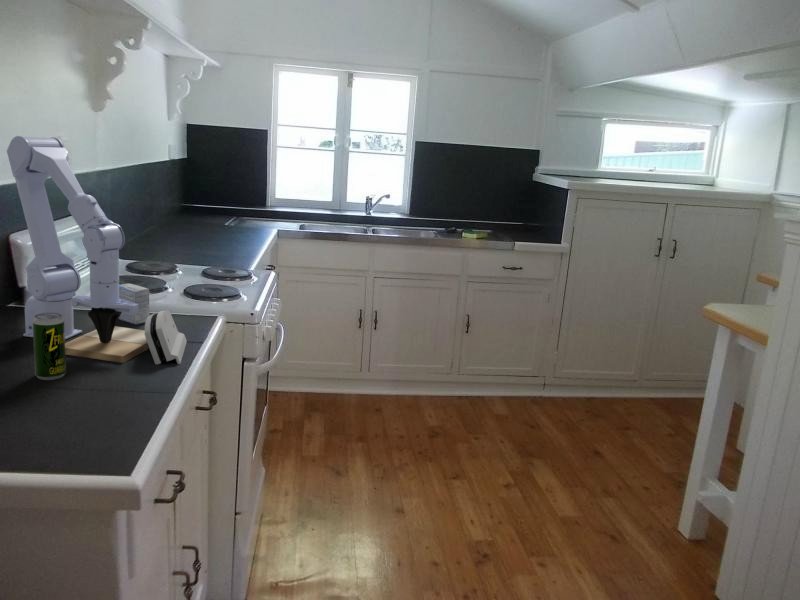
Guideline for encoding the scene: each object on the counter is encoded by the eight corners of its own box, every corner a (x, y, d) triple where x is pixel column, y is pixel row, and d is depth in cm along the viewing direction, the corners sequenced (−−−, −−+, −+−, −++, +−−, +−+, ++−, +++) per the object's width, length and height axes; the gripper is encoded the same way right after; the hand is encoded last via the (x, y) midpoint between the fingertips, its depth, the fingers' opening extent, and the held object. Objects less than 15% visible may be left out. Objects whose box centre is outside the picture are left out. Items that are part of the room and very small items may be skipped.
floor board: (82, 342, 152) (82, 335, 151) (106, 331, 160) (106, 325, 160) (144, 351, 149) (144, 344, 149) (165, 339, 158) (165, 333, 157)
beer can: (28, 377, 129) (25, 317, 127) (50, 369, 135) (48, 310, 132) (51, 382, 128) (48, 321, 125) (72, 374, 133) (70, 315, 130)
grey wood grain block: (150, 322, 171) (150, 288, 169) (134, 325, 167) (134, 291, 165) (130, 315, 175) (129, 282, 173) (114, 318, 171) (114, 285, 169)
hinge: (180, 364, 143) (163, 321, 140) (157, 371, 142) (140, 328, 139) (187, 340, 159) (172, 301, 156) (167, 346, 158) (151, 307, 155)
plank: (58, 353, 144) (57, 346, 143) (82, 342, 151) (81, 335, 151) (123, 363, 141) (123, 356, 141) (143, 351, 149) (143, 344, 149)
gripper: (61, 280, 142) (63, 341, 145) (125, 288, 140) (125, 351, 143) (82, 274, 149) (84, 333, 152) (143, 282, 147) (143, 341, 150)
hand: (105, 341), depth 148 cm, fingers closed
